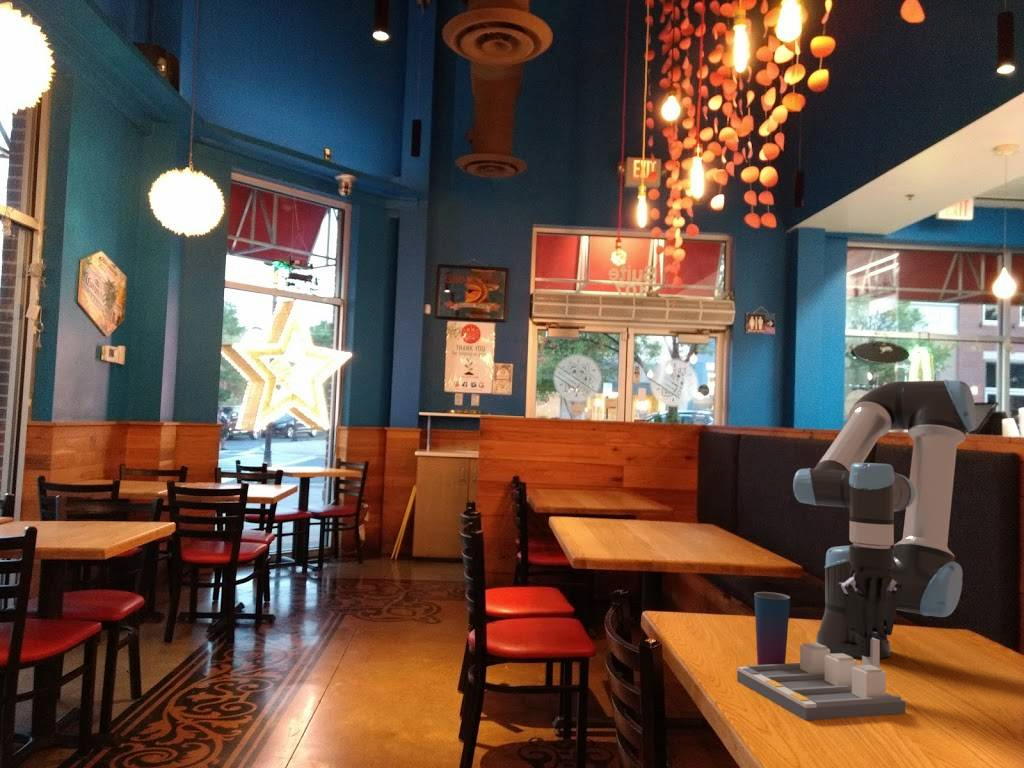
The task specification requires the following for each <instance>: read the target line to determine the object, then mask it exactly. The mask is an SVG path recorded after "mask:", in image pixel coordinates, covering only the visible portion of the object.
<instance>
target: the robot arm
mask: <svg viewBox="0 0 1024 768" xmlns="http://www.w3.org/2000/svg"><path fill="white" fill-rule="evenodd" d="M976 426H977V410H976V405H975V400H974V395H973V391H972V390H971V387H970V386H969V385H968V383H966V382H965V381H963V380H948V379H944V380H916V381H915V380H914V381H908V380H907V381H902V380H898V381H891V382H888V383H885V384H882V385H880V386H877V387H875V388H873V389H872V390H870V391H868V392H867V393H865V394H864V395H862V397H860V398H859V399H858V400H857V401H856V402H855V403H854V404H853V406H852V407H851V408H850V410H849V413H848V420H847V422H846V423H845V425H844V426H843V428H842V429H841V430H840V432H839V433H838V435H837V437H835V439H834V440H833V442H832V443H831V445H830V446H829V448H828V449H827V450H826V452H825V454H823V456H822V457H821V458H820V460H819V462H818V463H817V464H816V466H815V467H814V468H811V467H808V468H800V469H798V470H797V471H796V472H795V474H794V477H793V483H792V488H793V493H794V494H793V495H794V496H795V499H796V500H797V501H798V502H799V503H801V504H807V505H814V506H824V507H835V508H836V507H839V508H848V509H849V536H848V537H849V539H848V540H849V541H850V542H851V543H852V544H850V545H840V546H832V547H830V548H829V549H828V550H827V551H826V554H825V565H824V577H825V578H824V583H825V585H824V587H825V588H824V593H825V594H824V598H825V600H824V601H825V602H824V603H825V605H824V606H825V607H824V613H823V616H822V620H821V622H820V626H819V630H818V631H817V632H816V643H819V644H821V645H824V646H826V647H827V648H828V649H830V653H831V654H837V653H843V654H846V655H848V656H851V657H853V658H858V659H861V665H873V666H875V667H877V668H880V660H881V659H885V658H888V657H890V656H891V643H890V641H889V638H888V636H892V633H893V631H894V629H893V628H894V623H895V619H896V614H897V611H902V612H908V613H914V614H920V615H922V616H924V617H929V616H932V617H937V618H945V617H946V618H947V617H949V616H950V615H951V614H952V613H954V611H955V609H956V608H957V606H958V604H959V601H960V597H961V593H962V588H963V575H964V574H963V567H962V566H961V565H960V563H957V562H956V561H955V555H954V553H953V552H952V551H951V550H950V549H949V547H948V541H949V530H950V519H951V511H952V510H951V509H952V500H953V490H954V489H953V488H954V481H955V480H954V477H955V468H956V459H957V457H956V456H957V447H958V446H959V445H960V444H962V443H964V442H965V441H966V435H967V433H968V432H969V433H970V432H973V431H975V430H976ZM893 430H895V431H896V430H902V431H903V430H905V431H906V430H907V435H908V436H909V438H911V439H912V441H913V447H912V453H911V454H912V455H911V456H912V457H911V463H910V473H909V478H908V477H906V476H905V475H902V474H900V473H898V472H897V473H896V472H895V471H894V467H893V466H892V465H891V464H890V463H889V464H888V463H874V462H865V460H866V459H867V457H868V455H869V454H870V452H871V451H872V449H873V448H874V447H875V445H876V443H877V441H878V440H879V438H881V437H883V436H885V435H886V434H888V432H889V431H893ZM902 510H905V514H904V515H905V516H904V523H903V524H904V525H903V534H902V539H901V540H899V541H898V542H896V543H895V539H894V538H895V537H894V535H895V531H894V530H895V529H894V528H895V527H894V525H895V524H894V523H895V521H894V518H895V516H894V515H895V513H897V512H898V513H899V512H900V511H902ZM891 546H892V547H893V548H892V547H891Z"/></svg>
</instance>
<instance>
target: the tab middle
mask: <svg viewBox="0 0 1024 768" xmlns="http://www.w3.org/2000/svg"><path fill="white" fill-rule="evenodd" d="M855 665H857V660H856V659H854V657H851V656H848V655H846V654H843V653H837V654H836V653H830V654H828V655H826V656H825V681H827V682H829V683H831V684H833V685H835V686H840V685H852V667H855Z"/></svg>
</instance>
